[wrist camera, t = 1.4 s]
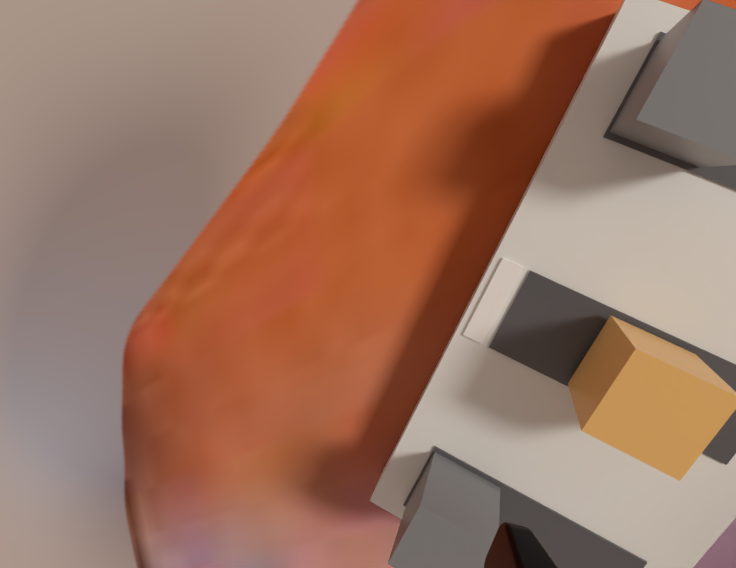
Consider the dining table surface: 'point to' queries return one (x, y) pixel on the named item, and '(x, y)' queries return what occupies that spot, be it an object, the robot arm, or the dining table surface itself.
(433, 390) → the breaker panel
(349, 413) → the dining table surface
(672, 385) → the handle
